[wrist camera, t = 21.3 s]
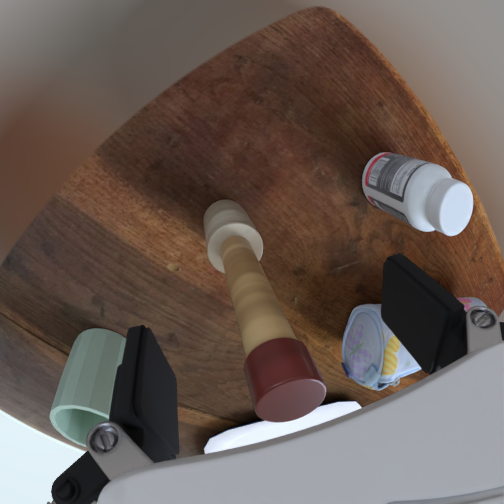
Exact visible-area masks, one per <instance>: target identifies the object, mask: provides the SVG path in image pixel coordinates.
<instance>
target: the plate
mask: <svg viewBox="0 0 504 504" xmlns="http://www.w3.org/2000/svg"><path fill="white" fill-rule="evenodd" d="M360 408H362V407H361V406H360V405H359V404H358V403H357V402H356V401H336V402H332V403H328V404H324V405H319V406H318V407H317V408H316V409H315V410H314V411H312V412H311V413H309V414H307V415H306V416H304V417H301V418H299V419H296V420H293V421H288V422H280V423H275V422H268V421H265V420H260V421H256V422H252V423H249V424H245V425H242V426H238V427H234V428H230V429H227V430H225V431H223V432H221V433H219V434H217V435H215V436H213V437H210V438H209V440H208V442H207V444H206V445H205V447H204V451H205V454H207V453H212V452H217V451H222V450H227V449H232V448H236V447H241V446H245V445H250V444H254V443H258V442H262V441H265V440H269V439H273V438H277V437H280V436H284V435H287V434H290V433H294V432H297V431H300V430H303V429H306V428H309V427H312V426H315V425H318V424H321V423H324V422H327V421H330V420H332V419H335V418H338V417H340V416H343V415H345V414H348V413H351V412H353V411H356V410H358V409H360Z"/></svg>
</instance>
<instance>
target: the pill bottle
mask: <svg viewBox="0 0 504 504" xmlns="http://www.w3.org/2000/svg"><path fill="white" fill-rule="evenodd" d="M362 187H363V191H364V194H365V196H366V198H367V199H368V200H369V201H370V202H371V203H372V204H373V205H375V206H377V207H378V208H380V209H382V210H384V211H386V212H388V213H390V214H392V215H393V216H395V217H397V218H399V219H401V220H402V221H404V222H406V223H408V224H409V225H411V226H413V227H414V228H416V229H418V230H421V231H425V232H430V231H434V230H437V231H439V232H442V233H444V234H446V235H448V236H454V235H457V234H459V233H460V232H461V231H462V230H463V229H464V228H465V227H466V225H467V224H468V222H469V220H470V217H471V214H472V209H473V196H472V192H471V190H470V188H469V187H468V186H467V185H466V184H465V183H463V182H461V181H458V180H455V179H452V177H451V175H450V174H449V172H448V171H447V170H446V169H445V168H443V167H441V166H439V165H437V164H434V163H430V162H426V161H423V160H419V159H415V158H412V157H408V156H403V155H399V154H395V153H389V152H383V153H379V154H377V155H375V156H374V157H373V158H371V159H370V161H369V162H368V163H367V165H366V167H365V169H364V172H363V176H362Z"/></svg>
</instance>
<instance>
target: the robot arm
mask: <svg viewBox="0 0 504 504" xmlns="http://www.w3.org/2000/svg"><path fill="white" fill-rule="evenodd" d="M464 307H465V305H463V304H462V303H461V302H460V301H459V300H458V299H457V298H455V297H454V296H453V295H452V294H451V293H450V292H448V291H447V290H446V289H445V288H444V287H442V286H441V285H440V284H439V283H438V282H436V281H435V280H434V279H433V278H431V277H430V276H429V275H428V274H427V273H425V272H424V271H423V270H422V269H420V268H419V267H418V266H417V265H415V264H414V263H413V262H411V261H410V260H409V259H408V258H406V257H405V256H404V255H402V254H401V253H399V254H396V255H393V256H390V257H388V258H387V260H386V262H384V267H383V288H382V303H381V318H382V320H383V322H384V323H385V324H386V325H387V326H388V328H389V329H390V330H391V331H392V332H393V334H394V335H395V336H396V337H397V339H398V340H399V341H400V342H401V343H402V345H403V346H404V347H405V348H406V350H407V351H408V352H409V353H410V354H411V356H412V357H413V358H414V359H415V361H416V362H417V363H418V365H419V366H420V367H421V368H422V370H423V371H424V372H425V373H429V374H430V376H428V377H426V378H424V379H422V380H420V381H418V382H416V383H414V384H413V385H411V386H409V387H407V388H405V389H403V390H400V391H398V392H396V393H394V394H392V395H390V396H388V397H386V398H383V399H381V400H379V401H377V402H374V403H372V404H370V405H368V406H365V407H363V408H360V409H358V410H356V411H353V412H351V413H348V414H345V415H343V416H340V417H338V418H335V419H332V420H330V421H327V422H324V423H321V424H318V425H315V426H312V427H309V428H306V429H303V430H300V431H297V432H294V433H290V434H287V435H284V436H280V437H277V438H273V439H269V440H265V441H262V442H258V443H254V444H250V445H245V446H241V447H236V448H232V449H227V450H222V451H217V452H212V453H207V454H202V455H196V456H190V457H184V458H179V459H176V454H179V434H178V412H177V381H176V377H175V374H174V372H173V370H172V369H171V367H170V365H169V363H168V361H167V360H166V358H165V356H164V354H163V352H162V350H161V348H160V346H159V345H158V343H157V341H156V339H155V337H154V335H153V333H152V331H151V329H150V328H145V326H144V325H141V326H136V327H132V328H129V330H128V334H127V338H126V343H125V349H124V354H123V359H122V364H120V365H119V366H118V367H117V371H116V377H115V382H114V388H113V394H112V401H111V407H110V414H109V421H104V422H100V423H98V424H96V425H95V426H93V427H92V428H91V429H90V431H89V433H88V434H87V437H86V447H87V449H88V451H87V452H86V453H85V454H84V455H82V456H81V457H80V458H79V459H78V460H77V461H76V462H75V463H73V464H72V465H71V466H70V467H69V468H68V469H67V470H66V471H64V472H63V473H62V474H61V475H60V476H59V477H58V478H57V479H56V480H55V481H54V483H53V485H52V490H51V493H52V497H53V501H52V503H50V502H48V503H47V504H504V322H499V318H498V316H497V314H496V313H495V312H494V311H493V310H492V309H490V308H488V307H486V306H474V307H471V308H470V309H469V310H468V311H467V312H466V311H465V310H464Z"/></svg>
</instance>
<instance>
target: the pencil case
mask: <svg viewBox="0 0 504 504" xmlns="http://www.w3.org/2000/svg"><path fill="white" fill-rule="evenodd" d="M457 299H458V300H459V301H460V302H461V303H462V304H463V305H465V307H464V310H465V311H466V312H467V311H468V310H469V309H470V308H471V307H474V306H486V305H485V304H484V303H483V302H482V301H481V300H480V299H478V298H475V297H464V298H457ZM486 307H487V306H486ZM342 358H343V362H344V363H343V362H341V364H342V367H343V369H344V371H345V373H346V375H347V376H348V377H349V378H353V379H354V380H355V381H356V382H357V383H359V384H360V385H362V386H364V387H367V388H369V389H376V390H382V389H384V388H385V387H387V386H388V385H392V386H396V385H398V384H399V382H400V380H399V378H401V377H403V376H406V375H408V374H411V373H414V372H416V371H418V370H420V369H422V368H421V367H420V366H419V365H418V363H417V362H416V361H415V359H414V358H413V357H412V356H411V354H410V353H409V352H408V351H407V350H406V348H405V347H404V346H403V345H402V343H401V342H400V341H399V340H398V339H397V337H396V336H395V335H394V334H393V332H392V331H391V330H390V329H389V328H388V326H387V325H386V324H385V323H384V322H383V320H382V318H381V304H364V305H359V306H357V307H355V308H354V309H353V310H352V312H351V315H350V317H349V320H348V323H347V325H346V328H345V331H344V336H343V342H342Z"/></svg>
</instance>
